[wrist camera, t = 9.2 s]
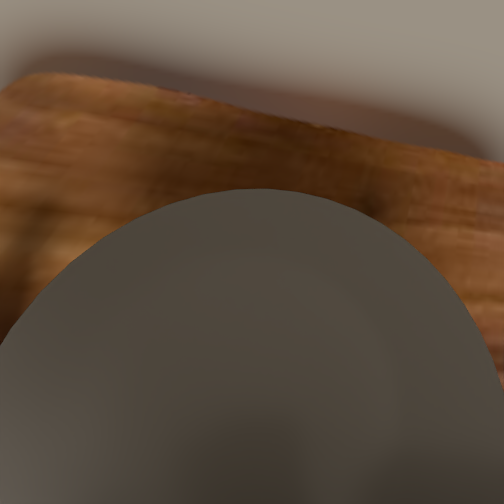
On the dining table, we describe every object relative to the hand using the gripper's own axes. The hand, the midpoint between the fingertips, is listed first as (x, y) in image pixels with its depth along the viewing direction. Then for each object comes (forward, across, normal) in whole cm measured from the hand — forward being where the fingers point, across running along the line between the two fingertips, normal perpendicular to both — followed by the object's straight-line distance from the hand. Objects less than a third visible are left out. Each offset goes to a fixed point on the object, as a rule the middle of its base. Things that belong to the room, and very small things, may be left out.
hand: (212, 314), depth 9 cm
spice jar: (+4, 0, +6) cm, 7 cm away
